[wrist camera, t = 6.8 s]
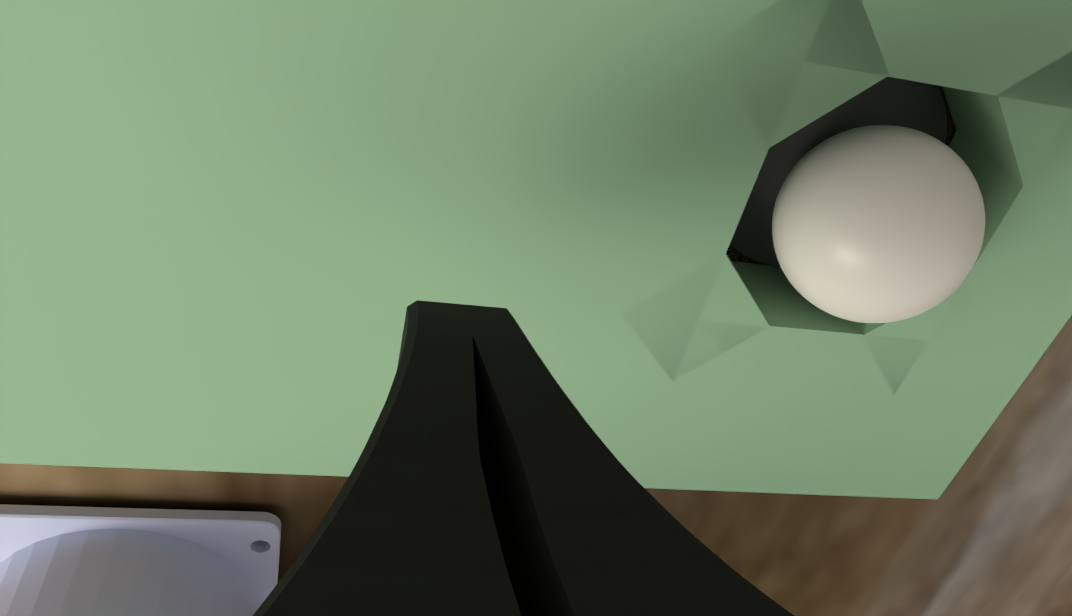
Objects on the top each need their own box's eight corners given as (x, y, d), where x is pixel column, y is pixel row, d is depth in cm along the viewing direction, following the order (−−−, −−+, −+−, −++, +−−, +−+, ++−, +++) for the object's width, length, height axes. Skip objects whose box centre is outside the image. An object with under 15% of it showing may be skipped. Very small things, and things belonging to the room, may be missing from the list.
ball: (759, 233, 20) (933, 262, 20) (749, 343, 17) (954, 381, 17) (797, 77, 18) (1000, 104, 17) (794, 175, 15) (1039, 212, 14)
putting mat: (893, 432, 25) (937, 499, 23) (-35, 376, 19) (-84, 459, 17) (1287, -185, 16) (1417, -163, 14) (-268, -654, 10) (-432, -734, 8)
